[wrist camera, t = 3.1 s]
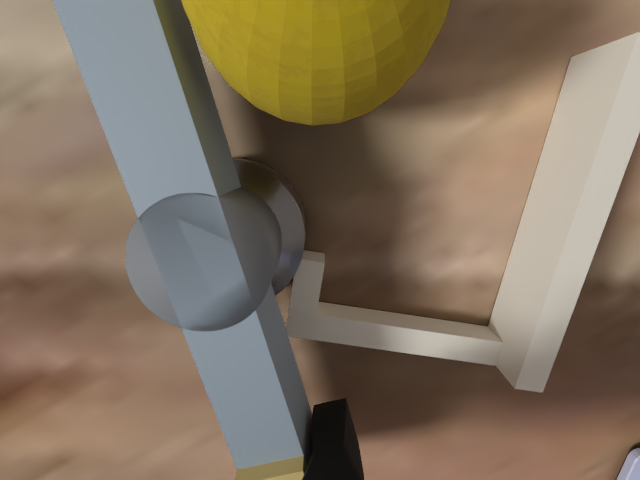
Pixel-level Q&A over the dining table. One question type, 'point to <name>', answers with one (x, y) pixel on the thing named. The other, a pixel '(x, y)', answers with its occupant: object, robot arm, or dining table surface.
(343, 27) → the lemon
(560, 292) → the cream l-shaped bracket
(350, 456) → the robot arm
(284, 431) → the lever
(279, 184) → the base
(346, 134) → the dining table surface
